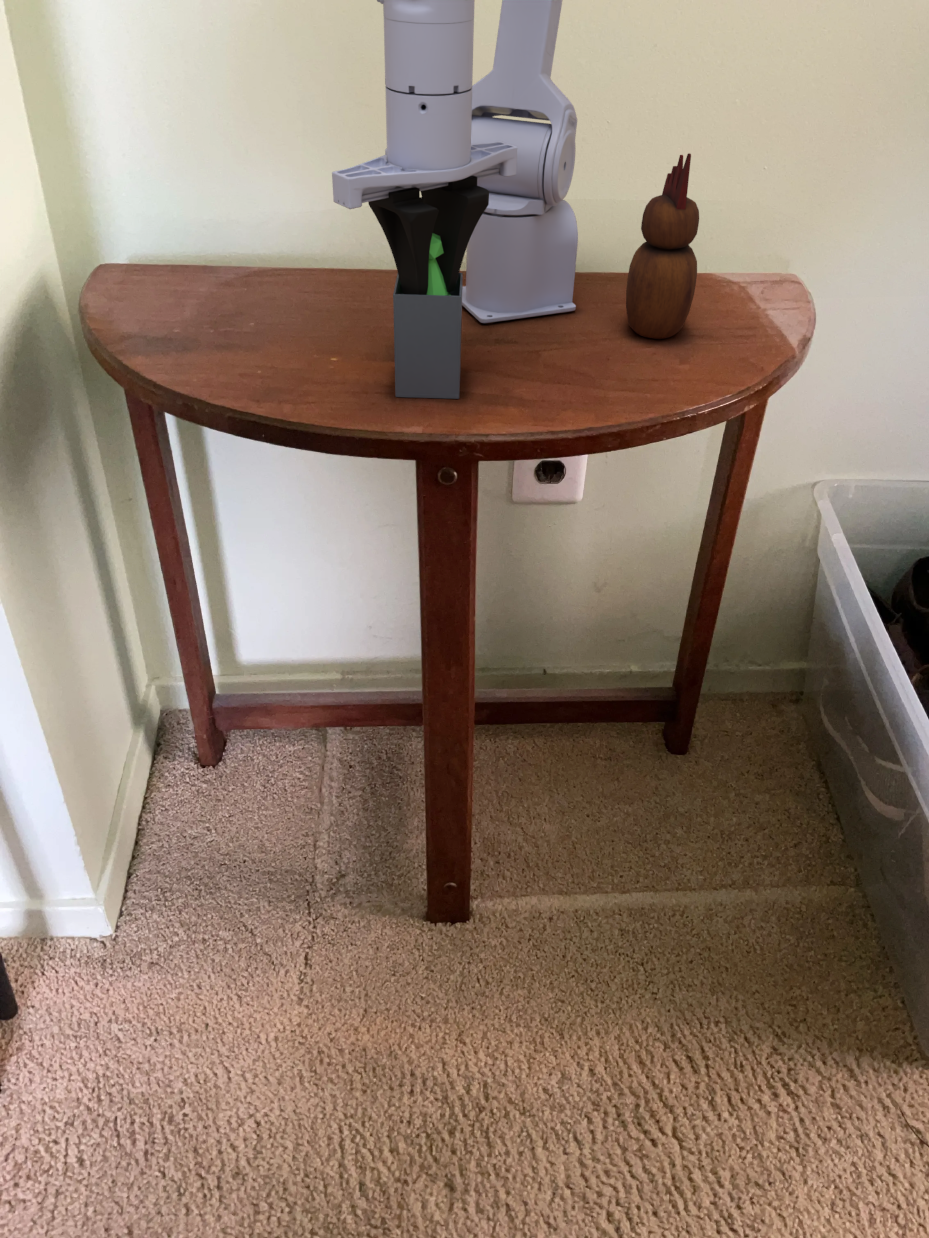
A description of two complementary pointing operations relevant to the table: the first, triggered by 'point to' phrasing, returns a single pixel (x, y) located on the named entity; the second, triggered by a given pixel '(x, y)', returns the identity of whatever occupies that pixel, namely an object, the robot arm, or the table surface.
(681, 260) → the wooden figurine
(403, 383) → the bin
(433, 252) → the game piece
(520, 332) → the table surface
